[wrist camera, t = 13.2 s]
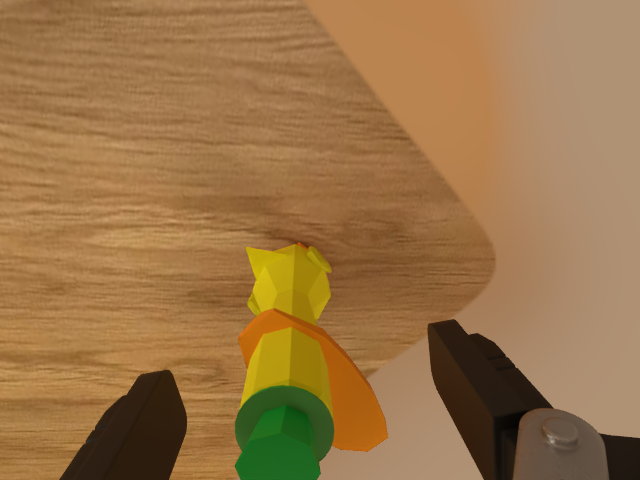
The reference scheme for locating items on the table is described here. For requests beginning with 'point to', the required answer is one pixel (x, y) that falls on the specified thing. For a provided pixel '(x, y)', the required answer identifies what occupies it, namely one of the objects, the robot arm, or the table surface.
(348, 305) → the table surface
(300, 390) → the toy figure
